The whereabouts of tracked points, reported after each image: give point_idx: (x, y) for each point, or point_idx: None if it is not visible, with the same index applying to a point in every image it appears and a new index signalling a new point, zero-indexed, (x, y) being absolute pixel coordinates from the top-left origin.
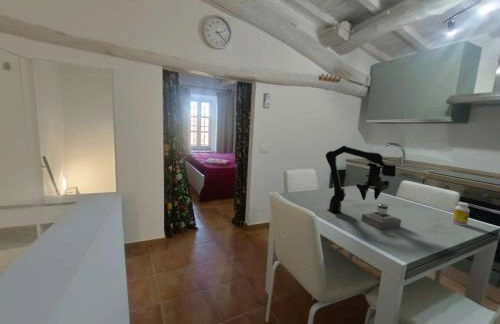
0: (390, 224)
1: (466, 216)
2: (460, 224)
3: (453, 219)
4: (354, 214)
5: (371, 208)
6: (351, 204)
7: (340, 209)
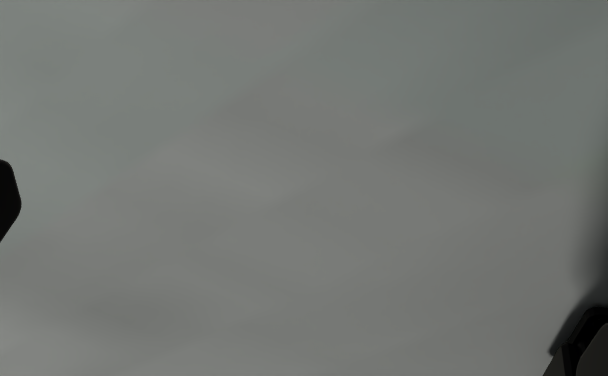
0: None
1: None
2: None
3: None
4: (452, 191)
5: None
6: (166, 356)
7: (573, 360)
